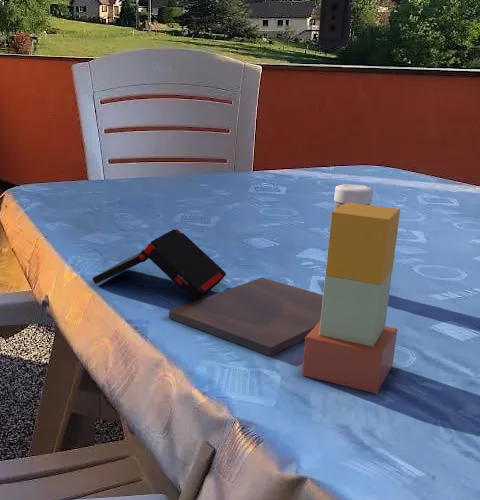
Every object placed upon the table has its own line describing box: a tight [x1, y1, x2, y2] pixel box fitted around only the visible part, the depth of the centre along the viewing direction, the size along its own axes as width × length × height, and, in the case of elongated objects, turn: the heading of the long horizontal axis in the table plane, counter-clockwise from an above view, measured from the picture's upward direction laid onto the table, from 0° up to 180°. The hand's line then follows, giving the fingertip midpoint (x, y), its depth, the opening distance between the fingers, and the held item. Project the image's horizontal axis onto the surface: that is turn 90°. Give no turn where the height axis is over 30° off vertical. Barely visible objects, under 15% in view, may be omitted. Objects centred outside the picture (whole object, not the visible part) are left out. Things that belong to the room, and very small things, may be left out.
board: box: [168, 277, 323, 357], centre depth 82 cm, size 18×14×1 cm
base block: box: [301, 321, 398, 395], centre depth 68 cm, size 7×7×4 cm
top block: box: [325, 202, 401, 285], centre depth 65 cm, size 5×5×6 cm
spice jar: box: [333, 184, 374, 210], centre depth 91 cm, size 5×5×13 cm
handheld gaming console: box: [91, 228, 227, 301], centre depth 92 cm, size 9×12×10 cm
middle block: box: [319, 271, 393, 347], centre depth 67 cm, size 5×5×6 cm
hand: (333, 47), depth 62 cm, fingers open, 8 cm apart
